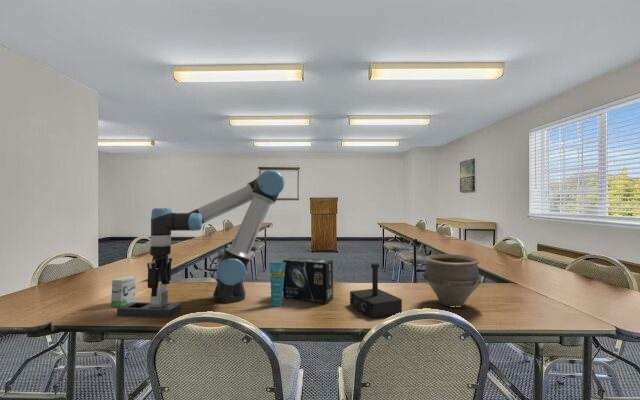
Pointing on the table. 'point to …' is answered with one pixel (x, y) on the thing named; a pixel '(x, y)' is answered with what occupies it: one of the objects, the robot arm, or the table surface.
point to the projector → (375, 299)
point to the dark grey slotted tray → (148, 310)
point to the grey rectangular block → (161, 300)
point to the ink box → (123, 291)
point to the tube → (277, 282)
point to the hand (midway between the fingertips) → (159, 301)
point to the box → (308, 280)
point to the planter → (452, 277)
